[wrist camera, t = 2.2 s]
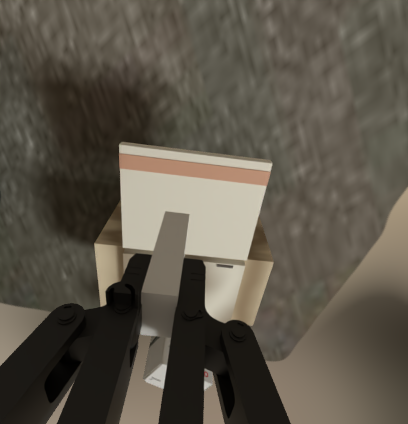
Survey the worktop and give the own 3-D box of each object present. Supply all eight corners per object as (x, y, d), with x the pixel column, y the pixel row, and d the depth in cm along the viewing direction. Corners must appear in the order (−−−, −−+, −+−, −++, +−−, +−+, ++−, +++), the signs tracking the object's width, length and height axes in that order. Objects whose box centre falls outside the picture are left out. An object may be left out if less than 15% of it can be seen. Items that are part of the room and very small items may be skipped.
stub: (125, 242, 26) (122, 248, 26) (121, 141, 21) (118, 144, 20) (245, 255, 27) (246, 261, 26) (270, 160, 22) (272, 164, 21)
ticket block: (124, 256, 40) (98, 318, 31) (122, 196, 35) (90, 249, 26) (243, 268, 41) (253, 332, 32) (257, 212, 36) (275, 268, 27)
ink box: (213, 313, 46) (214, 386, 36) (196, 328, 48) (193, 401, 38) (171, 292, 44) (160, 364, 34) (155, 309, 46) (141, 382, 36)
